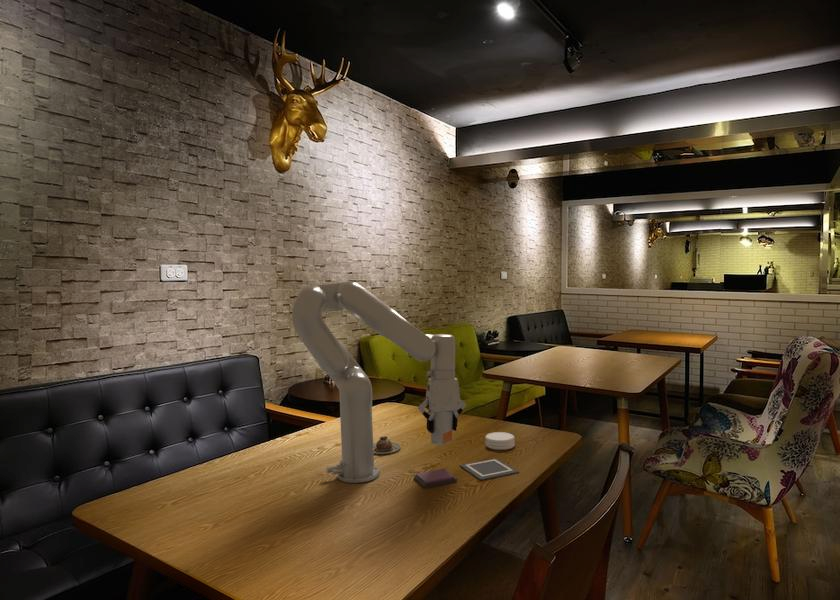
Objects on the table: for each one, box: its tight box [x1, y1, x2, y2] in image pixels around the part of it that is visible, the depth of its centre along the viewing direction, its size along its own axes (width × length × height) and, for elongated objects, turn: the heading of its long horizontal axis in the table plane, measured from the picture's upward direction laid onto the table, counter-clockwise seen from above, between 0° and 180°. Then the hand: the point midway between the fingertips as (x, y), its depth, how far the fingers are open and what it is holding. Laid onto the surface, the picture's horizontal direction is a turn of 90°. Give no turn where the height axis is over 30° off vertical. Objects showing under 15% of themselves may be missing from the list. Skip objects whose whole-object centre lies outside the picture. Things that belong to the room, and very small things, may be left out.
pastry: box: [373, 435, 402, 456], centre depth 184 cm, size 12×12×5 cm
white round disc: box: [485, 431, 516, 451], centre depth 184 cm, size 10×10×4 cm
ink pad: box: [413, 468, 458, 489], centre depth 155 cm, size 10×8×2 cm
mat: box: [459, 458, 520, 482], centre depth 162 cm, size 13×13×1 cm
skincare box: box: [430, 407, 454, 447], centre depth 166 cm, size 6×4×12 cm
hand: (442, 430), depth 166 cm, fingers closed on skincare box, 7 cm apart
